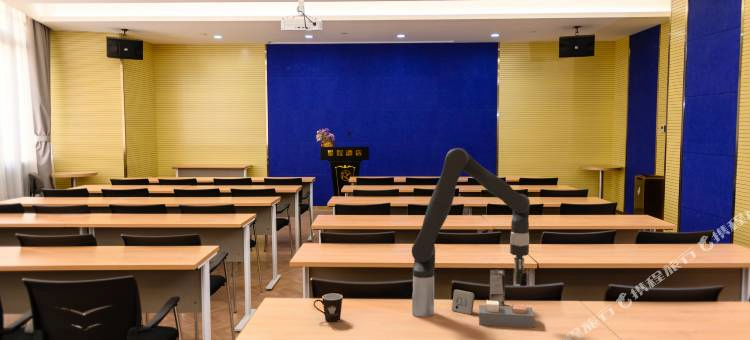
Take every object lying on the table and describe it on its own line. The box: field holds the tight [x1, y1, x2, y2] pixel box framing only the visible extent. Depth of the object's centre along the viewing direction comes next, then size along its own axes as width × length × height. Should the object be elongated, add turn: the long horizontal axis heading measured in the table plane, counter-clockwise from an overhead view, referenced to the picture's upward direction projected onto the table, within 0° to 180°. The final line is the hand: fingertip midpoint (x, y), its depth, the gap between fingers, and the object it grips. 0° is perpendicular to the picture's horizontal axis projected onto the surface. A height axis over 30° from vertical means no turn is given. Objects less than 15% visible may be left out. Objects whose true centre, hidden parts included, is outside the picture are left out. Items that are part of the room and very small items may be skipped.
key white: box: [485, 299, 499, 312], centre depth 237 cm, size 5×5×5 cm
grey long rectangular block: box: [478, 304, 535, 329], centre depth 236 cm, size 22×10×5 cm, turn 80°
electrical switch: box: [451, 289, 475, 315], centre depth 250 cm, size 9×5×9 cm, turn 54°
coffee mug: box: [313, 293, 343, 323], centre depth 241 cm, size 12×9×10 cm
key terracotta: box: [512, 304, 526, 314], centre depth 235 cm, size 5×5×5 cm
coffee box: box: [489, 269, 506, 306], centre depth 254 cm, size 9×6×16 cm
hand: (518, 283), depth 234 cm, fingers closed
